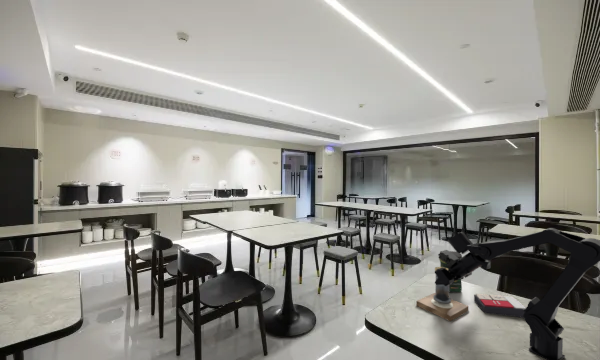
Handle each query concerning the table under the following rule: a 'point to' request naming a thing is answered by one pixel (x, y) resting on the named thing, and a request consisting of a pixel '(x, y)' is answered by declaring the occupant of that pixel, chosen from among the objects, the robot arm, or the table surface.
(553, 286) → the robot arm
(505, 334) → the table surface
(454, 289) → the coffee jar
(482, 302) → the red and white box
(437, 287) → the housing
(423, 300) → the stand
